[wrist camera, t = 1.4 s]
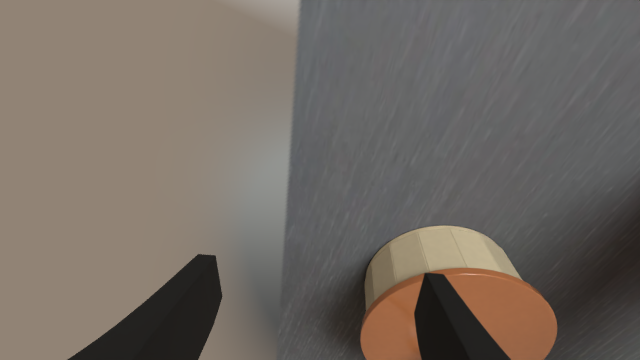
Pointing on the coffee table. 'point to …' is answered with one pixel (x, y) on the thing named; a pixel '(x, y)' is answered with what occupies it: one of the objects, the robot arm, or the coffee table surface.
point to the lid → (482, 299)
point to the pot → (432, 257)
